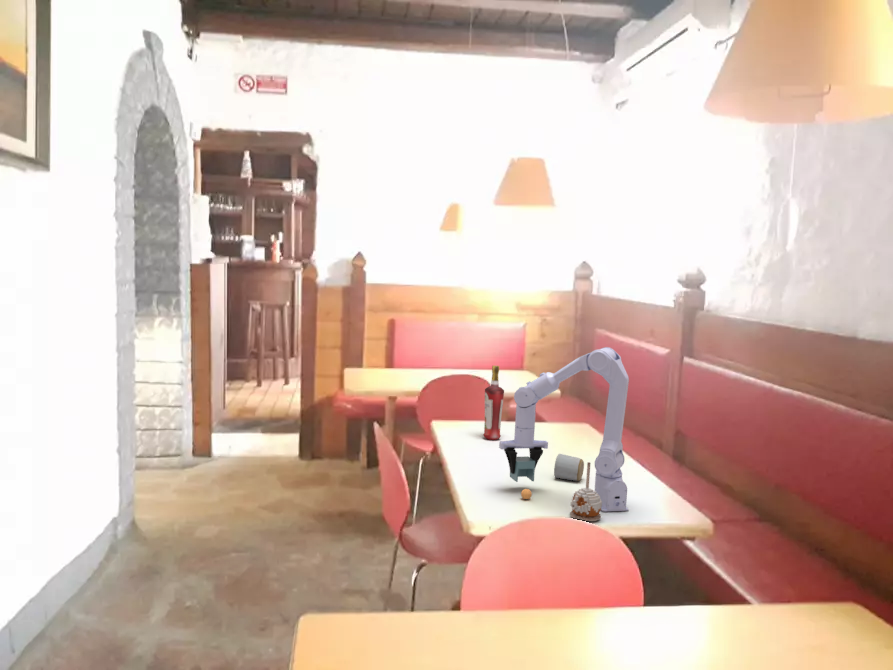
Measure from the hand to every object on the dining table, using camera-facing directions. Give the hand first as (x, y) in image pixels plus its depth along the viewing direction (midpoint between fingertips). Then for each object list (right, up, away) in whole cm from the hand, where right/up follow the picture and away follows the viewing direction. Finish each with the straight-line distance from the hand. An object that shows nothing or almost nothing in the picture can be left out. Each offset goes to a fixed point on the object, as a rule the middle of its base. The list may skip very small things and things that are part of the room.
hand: (522, 472), depth 221 cm
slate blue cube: (0, -2, 0) cm, 2 cm away
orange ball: (0, -6, -9) cm, 11 cm away
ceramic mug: (+16, -5, +16) cm, 23 cm away
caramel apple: (+14, -8, -22) cm, 28 cm away
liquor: (-5, +1, +65) cm, 66 cm away
